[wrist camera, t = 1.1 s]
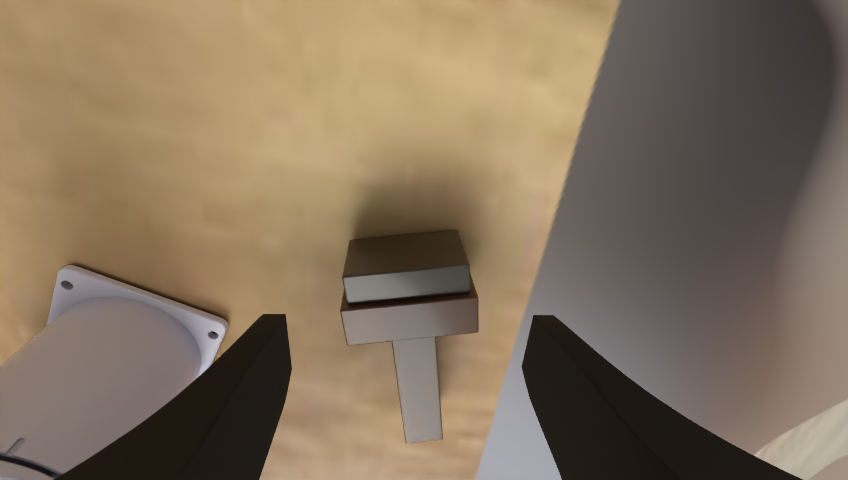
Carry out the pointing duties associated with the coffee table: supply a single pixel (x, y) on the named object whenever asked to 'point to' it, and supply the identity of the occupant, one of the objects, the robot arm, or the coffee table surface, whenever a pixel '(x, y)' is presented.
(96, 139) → the coffee table surface
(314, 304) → the coffee table surface
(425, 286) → the brush
